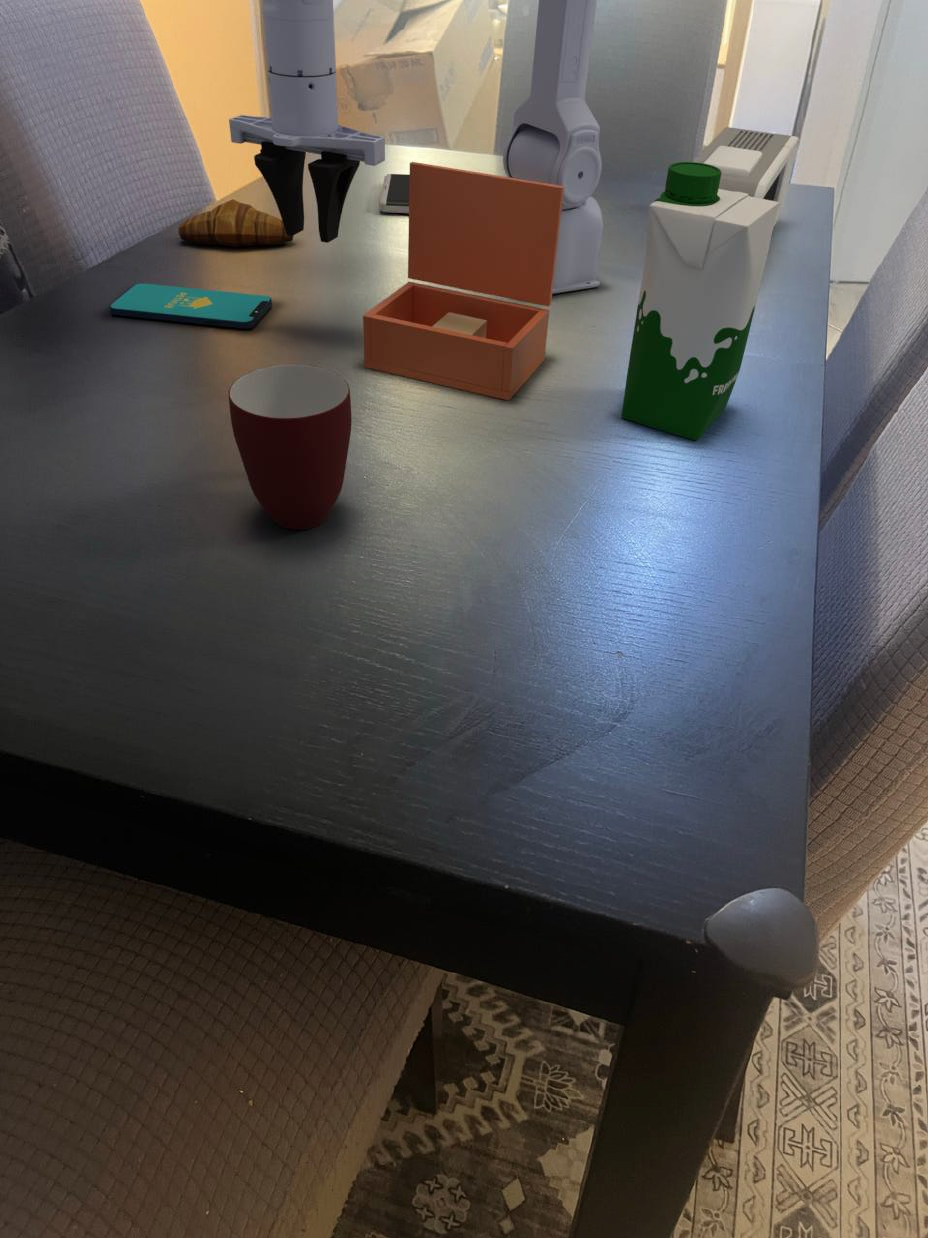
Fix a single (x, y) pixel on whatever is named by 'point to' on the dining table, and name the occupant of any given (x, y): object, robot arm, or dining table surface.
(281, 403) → the mug
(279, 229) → the croissant
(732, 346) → the milk carton
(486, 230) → the case cover
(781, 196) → the alarm clock
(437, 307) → the case
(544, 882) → the dining table surface
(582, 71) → the robot arm
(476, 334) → the block
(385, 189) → the tablet
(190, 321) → the smartphone
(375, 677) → the dining table surface
